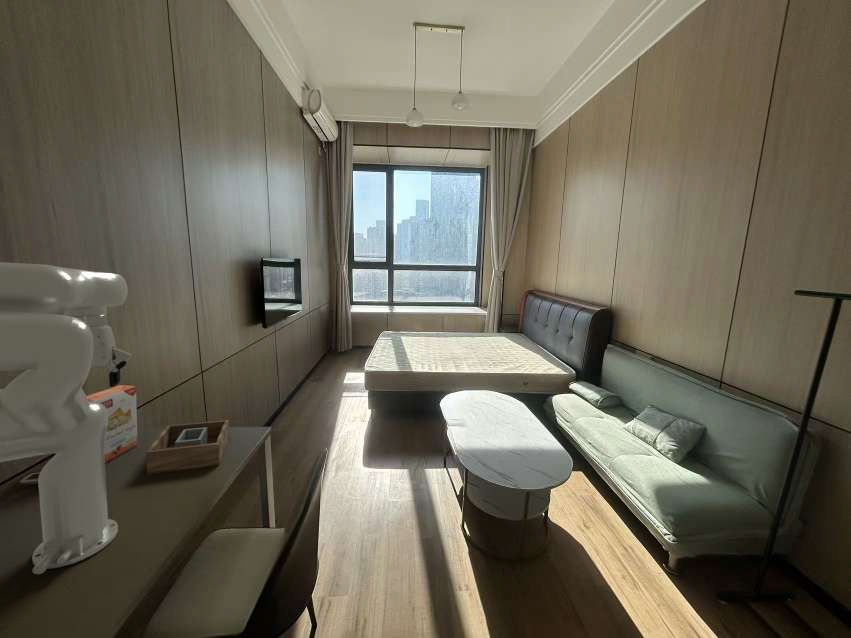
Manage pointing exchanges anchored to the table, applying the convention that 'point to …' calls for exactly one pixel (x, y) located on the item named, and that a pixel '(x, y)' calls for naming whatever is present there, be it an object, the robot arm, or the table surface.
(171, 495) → the table surface
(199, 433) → the small crate
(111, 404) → the cracker box
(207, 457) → the big crate
